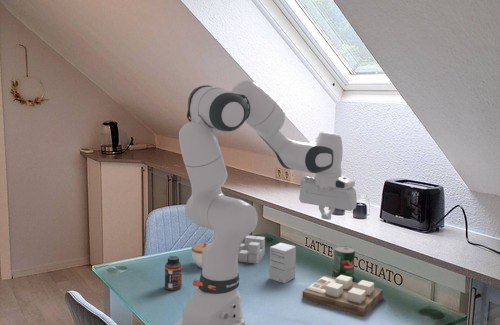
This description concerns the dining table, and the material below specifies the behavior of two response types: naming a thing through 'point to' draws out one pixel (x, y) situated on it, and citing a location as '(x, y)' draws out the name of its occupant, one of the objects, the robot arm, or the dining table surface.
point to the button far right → (366, 286)
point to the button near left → (334, 289)
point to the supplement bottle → (173, 273)
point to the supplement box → (282, 262)
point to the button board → (340, 297)
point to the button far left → (344, 281)
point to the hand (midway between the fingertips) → (326, 218)
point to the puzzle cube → (252, 249)
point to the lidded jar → (198, 253)
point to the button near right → (356, 295)
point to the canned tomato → (343, 261)
